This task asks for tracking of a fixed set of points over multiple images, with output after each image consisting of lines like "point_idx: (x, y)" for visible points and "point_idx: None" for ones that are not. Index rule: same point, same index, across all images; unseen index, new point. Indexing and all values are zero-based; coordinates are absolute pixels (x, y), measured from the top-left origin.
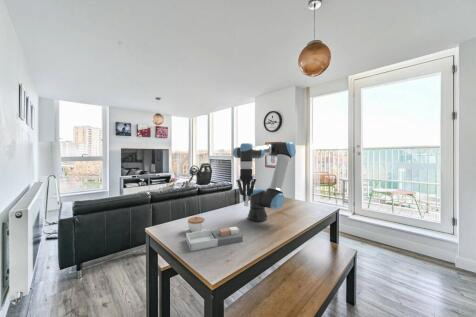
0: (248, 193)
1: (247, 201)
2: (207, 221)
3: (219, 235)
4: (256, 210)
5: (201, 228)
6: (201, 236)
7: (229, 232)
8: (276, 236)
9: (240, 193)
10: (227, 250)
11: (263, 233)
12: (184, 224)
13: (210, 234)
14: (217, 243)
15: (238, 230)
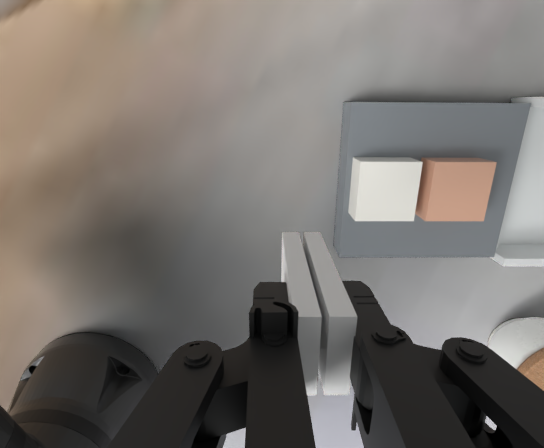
0: (295, 360)
1: (304, 261)
2: None
3: None
4: (87, 412)
5: (516, 324)
6: (542, 246)
7: (430, 160)
8: (95, 75)
9: (485, 415)
10: (491, 15)
11: (162, 157)
12: None
13: (500, 236)
14: (526, 97)
15: (362, 160)
